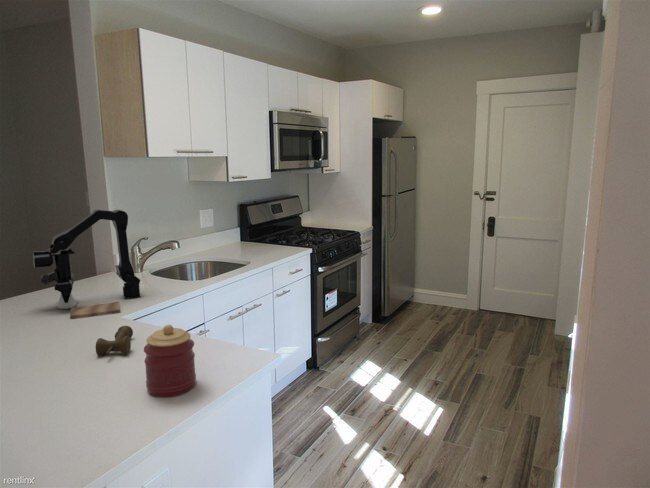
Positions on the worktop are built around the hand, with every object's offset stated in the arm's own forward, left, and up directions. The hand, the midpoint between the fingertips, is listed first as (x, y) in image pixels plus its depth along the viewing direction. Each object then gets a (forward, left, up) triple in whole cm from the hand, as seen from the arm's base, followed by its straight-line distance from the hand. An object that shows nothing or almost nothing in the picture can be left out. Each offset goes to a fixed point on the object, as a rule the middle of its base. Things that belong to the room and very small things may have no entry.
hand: (66, 301), depth 197 cm
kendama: (-17, +59, -3) cm, 61 cm away
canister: (-30, +93, -3) cm, 98 cm away
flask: (0, 0, -3) cm, 3 cm away
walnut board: (-11, +12, -3) cm, 16 cm away
